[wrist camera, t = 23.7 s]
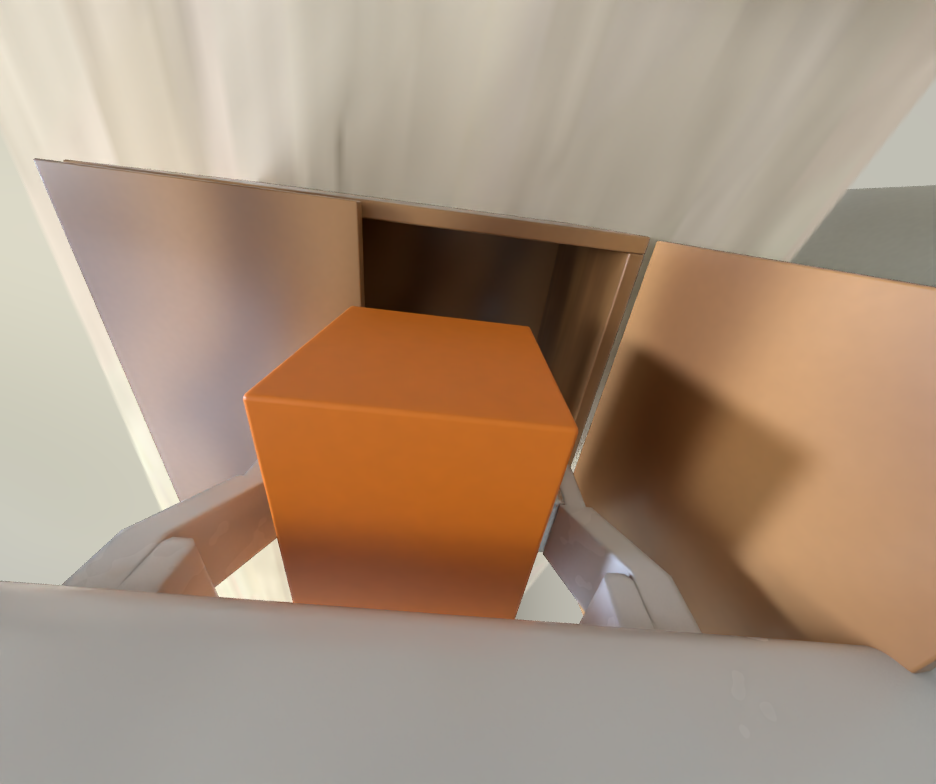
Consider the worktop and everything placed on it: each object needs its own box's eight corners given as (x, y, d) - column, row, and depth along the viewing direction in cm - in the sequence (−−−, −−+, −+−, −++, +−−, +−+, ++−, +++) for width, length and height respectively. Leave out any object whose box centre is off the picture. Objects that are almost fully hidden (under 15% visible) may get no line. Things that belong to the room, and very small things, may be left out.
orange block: (530, 325, 9) (581, 430, 5) (488, 520, 13) (497, 674, 9) (350, 304, 9) (238, 395, 5) (362, 508, 13) (306, 662, 9)
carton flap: (656, 240, 9) (668, 241, 10) (549, 537, 16) (557, 537, 16) (1421, 369, 2) (1443, 371, 2) (670, 820, 9) (683, 815, 9)
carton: (570, 223, 18) (664, 239, 9) (524, 418, 25) (553, 540, 16) (255, 181, 18) (27, 155, 9) (290, 394, 24) (180, 507, 15)
